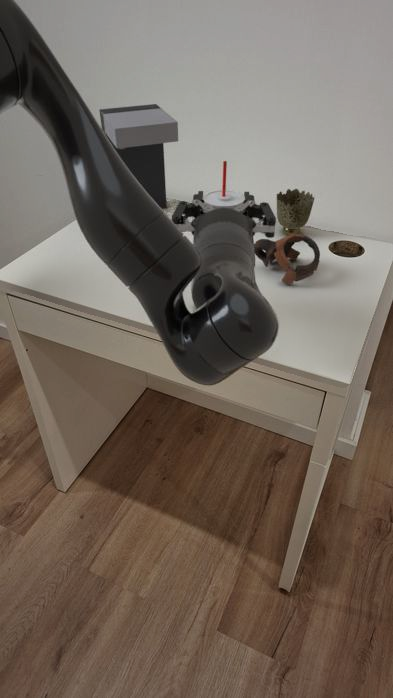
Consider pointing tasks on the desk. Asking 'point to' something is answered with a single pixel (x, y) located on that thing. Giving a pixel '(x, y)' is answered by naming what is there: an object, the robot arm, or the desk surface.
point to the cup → (293, 210)
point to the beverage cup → (223, 195)
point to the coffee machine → (142, 143)
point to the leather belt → (287, 256)
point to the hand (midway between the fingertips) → (223, 197)
